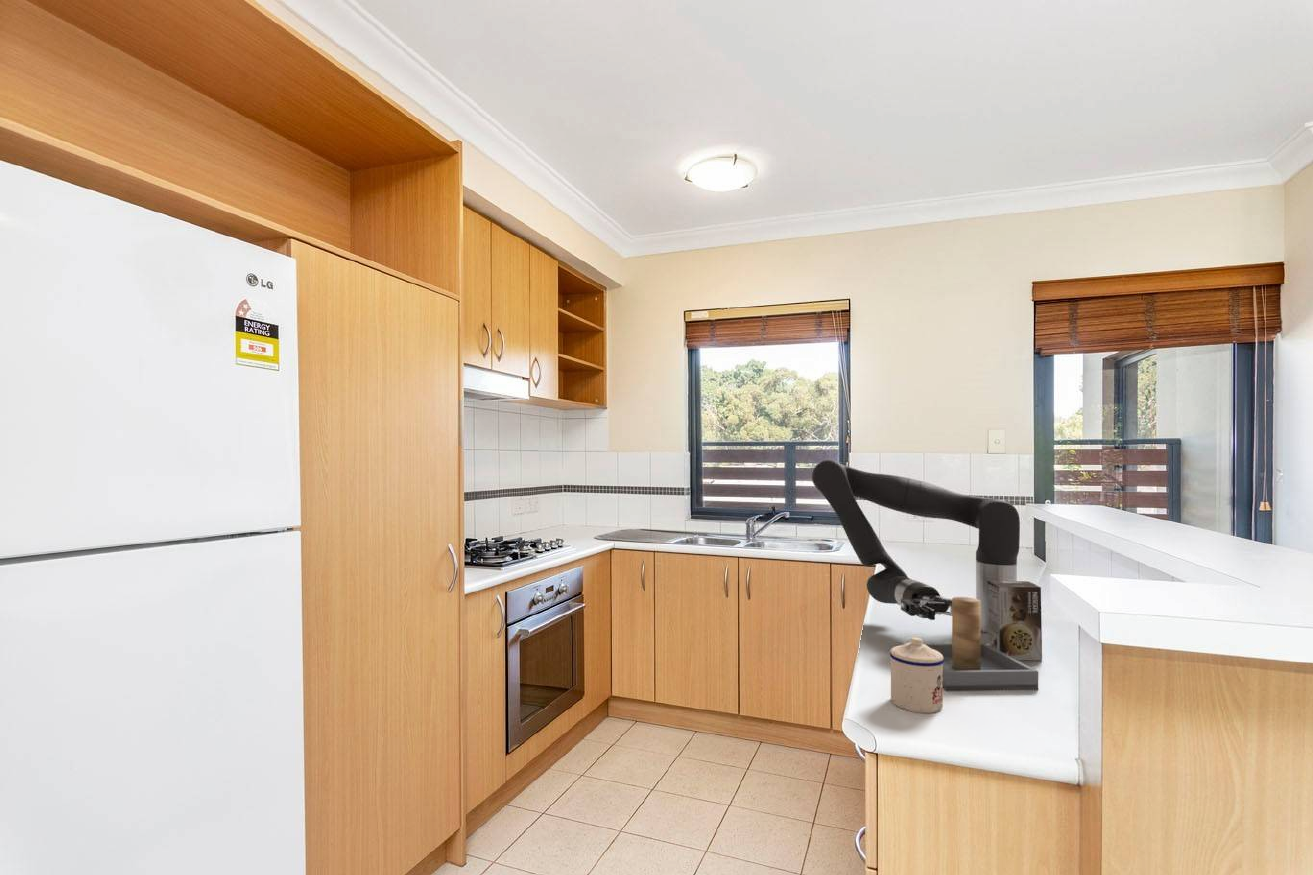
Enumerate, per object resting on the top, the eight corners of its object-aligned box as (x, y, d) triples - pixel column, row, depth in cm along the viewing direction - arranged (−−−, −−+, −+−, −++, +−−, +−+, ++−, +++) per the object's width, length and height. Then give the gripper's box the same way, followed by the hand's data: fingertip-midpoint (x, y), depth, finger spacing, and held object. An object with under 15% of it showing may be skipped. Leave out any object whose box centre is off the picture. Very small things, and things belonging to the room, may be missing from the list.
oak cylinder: (971, 664, 135) (971, 596, 135) (985, 673, 129) (985, 602, 130) (947, 664, 134) (947, 596, 135) (960, 673, 129) (960, 602, 129)
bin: (984, 659, 141) (984, 643, 141) (1038, 689, 123) (1038, 671, 123) (904, 660, 140) (904, 643, 140) (946, 690, 122) (946, 672, 122)
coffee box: (1029, 652, 147) (1028, 580, 147) (1043, 661, 140) (1042, 586, 140) (986, 650, 147) (986, 579, 148) (998, 659, 141) (998, 585, 141)
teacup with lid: (945, 717, 110) (945, 648, 110) (888, 709, 113) (888, 642, 113) (942, 693, 121) (942, 630, 121) (890, 686, 124) (890, 625, 125)
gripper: (887, 582, 154) (920, 597, 137) (945, 581, 155) (985, 597, 138) (887, 613, 154) (920, 633, 137) (945, 613, 155) (985, 632, 138)
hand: (952, 615), depth 138 cm, fingers open, 8 cm apart
